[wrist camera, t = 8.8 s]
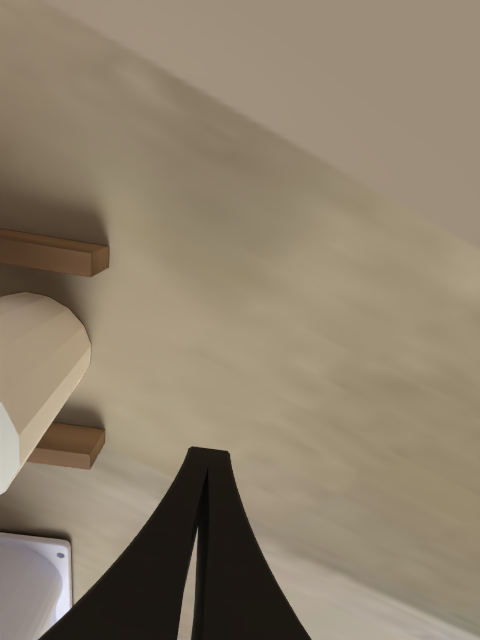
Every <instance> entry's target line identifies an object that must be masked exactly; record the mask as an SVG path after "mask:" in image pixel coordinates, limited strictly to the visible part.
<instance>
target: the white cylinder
mask: <svg viewBox="0 0 480 640" xmlns="http://www.w3.org/2000/svg"><path fill="white" fill-rule="evenodd" d="M90 358H91V343H90V341H89V338H88V335H87V333H86V330H85V327H84V325H83V324H82V323H81V322H80V321H79V320H78V319H77V317H76V316H75V315H74V314H73V313H72V312H71V310H70V309H69V308H67V307H65V306H64V305H62V304H60V303H58V302H57V301H55V300H53V299H52V298H50V297H48V296H43V295H38V294H33V293H28V292H22V293H17V294H11V295H6V296H2V297H0V494H2V493H4V492H5V491H6V490H7V488H8V487H9V486H10V484H11V483H12V481H13V480H14V478H15V477H16V475H17V474H18V472H19V471H20V469H21V468H22V466H23V465H24V463H25V462H26V460H27V459H28V457H29V456H30V454H31V453H32V451H33V450H34V448H35V447H36V445H37V444H38V442H39V441H40V439H41V438H42V436H43V435H44V433H45V432H46V430H47V429H48V427H49V426H50V424H51V423H52V421H53V420H54V418H55V417H56V416H57V414H58V413H59V411H60V410H61V408H62V407H63V405H64V404H65V402H66V401H67V399H68V398H69V396H70V395H71V393H72V392H73V390H74V389H75V387H76V386H77V384H78V383H79V381H80V380H81V378H82V377H83V375H84V373H85V372H86V370H87V368H88V366H89V365H90Z"/></svg>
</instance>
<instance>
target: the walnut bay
mask: <svg viewBox="0 0 480 640" xmlns="http://www.w3.org/2000/svg"><path fill="white" fill-rule="evenodd" d="M0 263H3V264H10V265H16V266H22V267H29V268H35V269H41V270H48V271H54V272H61V273H67V274H73V275H80V276H86V277H92V276H94V275H96V274H98V273H99V272H101V271H103V270H105V269H107V268H109V246H104V245H98V244H91V243H85V242H79V241H73V240H67V239H61V238H55V237H48V236H42V235H36V234H30V233H24V232H18V231H12V230H5V229H0ZM104 444H105V429H99V428H91V427H84V426H76V425H69V424H61V423H54V422H52V423H51V424H50V426H49V427H48V429H47V430H46V432H45V433H44V435H43V436H42V438H41V439H40V441H39V442H38V444H37V445H36V447H35V448H34V450H33V451H32V453H31V454H30V456H29V457H28V459H27V460H26V462H33V463H41V464H49V465H57V466H65V467H73V468H80V469H88V470H90V469H91V467H92V465H93V463H94V462H95V460H96V458H97V456H98V454H99V453H100V451H101V449H102V447H103V445H104Z"/></svg>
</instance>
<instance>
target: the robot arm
mask: <svg viewBox="0 0 480 640" xmlns="http://www.w3.org/2000/svg"><path fill="white" fill-rule="evenodd" d="M197 528H198V541H197V562H196V585H195V605H194V618H193V627H192V636H191V640H311V638H310V636H309V635H308V633H307V632H306V630H305V629H304V627H303V626H302V624H301V623H300V621H299V619H298V618H297V616H296V614H295V613H294V611H293V609H292V607H291V606H290V604H289V602H288V601H287V599H286V597H285V595H284V594H283V592H282V590H281V589H280V587H279V585H278V583H277V581H276V580H275V578H274V576H273V574H272V572H271V570H270V568H269V566H268V564H267V562H266V560H265V558H264V556H263V554H262V552H261V549H260V547H259V545H258V543H257V540H256V538H255V536H254V533H253V531H252V528H251V526H250V524H249V521H248V518H247V516H246V513H245V510H244V507H243V504H242V501H241V498H240V495H239V492H238V489H237V486H236V482H235V478H234V474H233V470H232V465H231V460H230V454H229V452H228V451H223V450H216V449H208V448H200V447H193V446H192V447H191V448H189V449H188V452H187V455H186V457H185V460H184V462H183V464H182V466H181V468H180V470H179V472H178V474H177V476H176V478H175V479H174V481H173V483H172V485H171V486H170V488H169V490H168V491H167V493H166V495H165V496H164V498H163V499H162V501H161V502H160V504H159V505H158V507H157V508H156V510H155V511H154V512H153V514H152V515H151V517H150V518H149V520H148V521H147V522H146V524H145V525H144V527H143V528H142V529H141V531H140V532H139V533H138V534H137V536H136V537H135V538H134V539H133V541H132V542H131V543H130V545H129V546H128V547H127V548H126V549H125V551H124V552H123V553H122V554H121V555H120V556H119V558H118V559H117V560H116V561H115V562H114V563H113V565H112V566H111V567H110V568H109V569H108V570H107V571H106V572H105V574H104V575H103V576H102V577H101V578H100V579H99V580H98V581H97V582H96V583H95V584H94V585H93V586H92V587H91V588H90V589H89V590H88V591H87V592H86V593H85V594H84V596H83V597H82V598H81V599H80V600H79V601H78V602H77V603H76V604H75V605H74V606H73V607H72V580H71V546H70V543H69V542H68V541H66V540H62V539H53V538H45V537H36V536H28V535H19V534H10V533H2V532H0V640H177V635H178V628H179V621H180V614H181V607H182V599H183V592H184V588H185V583H186V579H187V574H188V570H189V565H190V560H191V556H192V551H193V547H194V542H195V538H196V533H197Z"/></svg>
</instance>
